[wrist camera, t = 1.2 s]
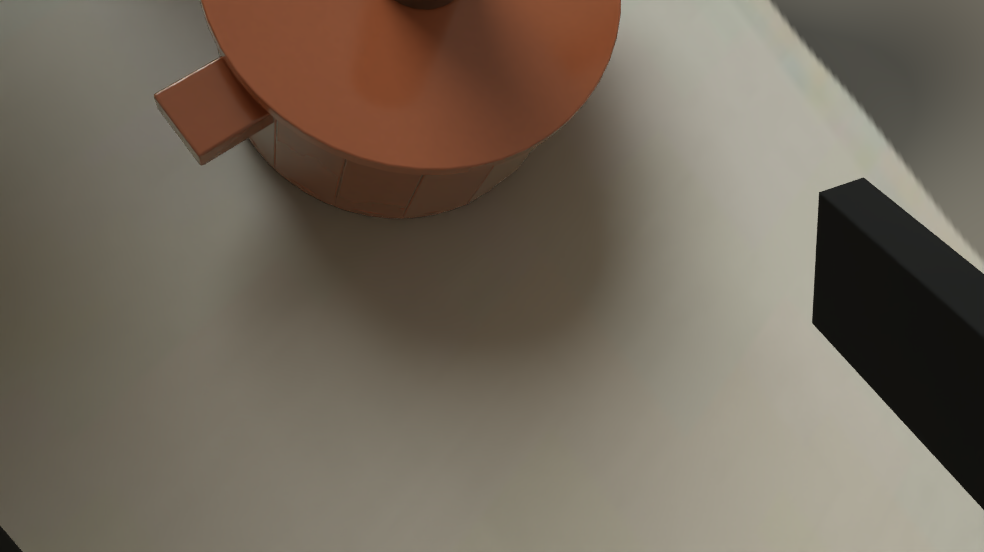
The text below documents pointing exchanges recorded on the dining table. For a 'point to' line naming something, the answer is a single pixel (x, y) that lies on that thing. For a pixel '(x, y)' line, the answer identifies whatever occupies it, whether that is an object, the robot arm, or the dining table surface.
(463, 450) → the dining table surface
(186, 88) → the cooking pot
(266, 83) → the lid
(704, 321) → the dining table surface
